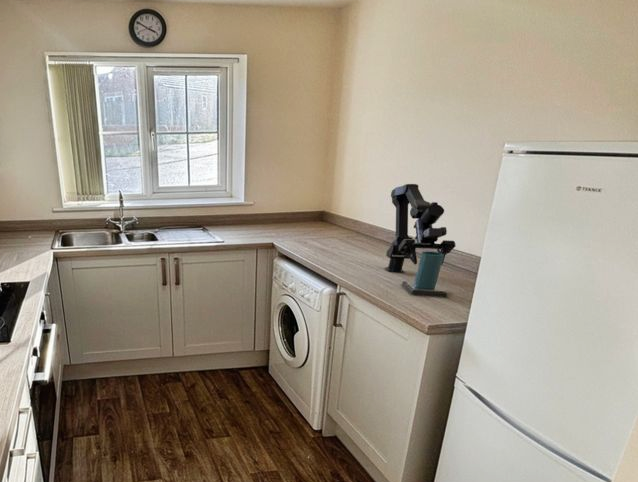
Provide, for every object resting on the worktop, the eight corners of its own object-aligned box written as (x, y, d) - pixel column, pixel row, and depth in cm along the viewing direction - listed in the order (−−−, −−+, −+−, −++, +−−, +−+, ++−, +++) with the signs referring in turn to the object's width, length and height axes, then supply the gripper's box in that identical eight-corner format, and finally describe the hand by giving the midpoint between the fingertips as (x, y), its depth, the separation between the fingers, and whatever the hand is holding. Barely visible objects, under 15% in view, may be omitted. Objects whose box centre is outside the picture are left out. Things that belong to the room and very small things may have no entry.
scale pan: (405, 282, 186) (406, 281, 186) (435, 284, 184) (436, 283, 183) (413, 290, 177) (413, 288, 176) (445, 292, 174) (445, 291, 174)
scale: (401, 284, 189) (402, 280, 188) (434, 286, 186) (435, 283, 185) (411, 294, 177) (412, 290, 176) (446, 297, 174) (447, 293, 173)
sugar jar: (409, 283, 183) (417, 251, 178) (425, 282, 184) (434, 251, 179) (423, 288, 176) (432, 256, 171) (439, 287, 177) (448, 255, 172)
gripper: (408, 218, 178) (412, 252, 173) (460, 219, 175) (466, 254, 169) (396, 234, 188) (399, 267, 183) (445, 236, 185) (450, 269, 180)
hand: (428, 264), depth 178 cm, fingers open, 9 cm apart
